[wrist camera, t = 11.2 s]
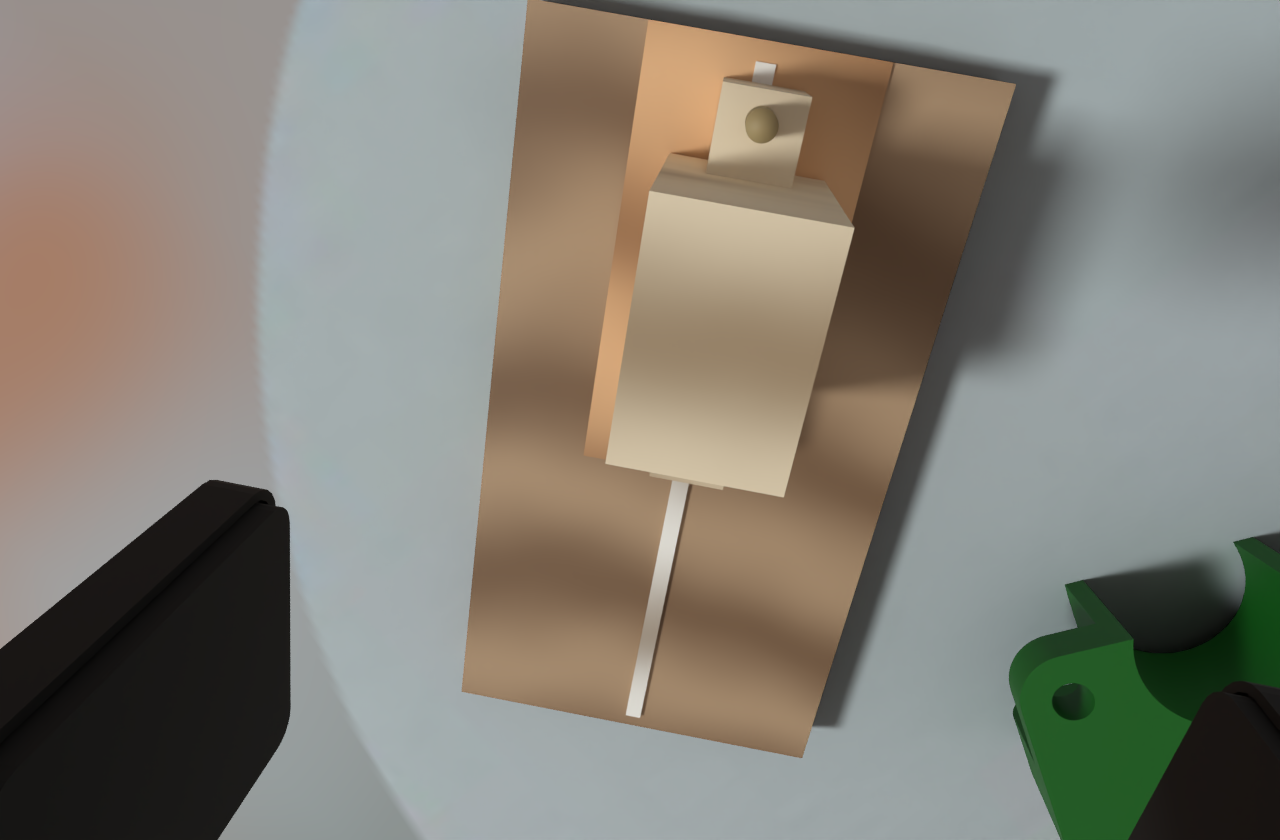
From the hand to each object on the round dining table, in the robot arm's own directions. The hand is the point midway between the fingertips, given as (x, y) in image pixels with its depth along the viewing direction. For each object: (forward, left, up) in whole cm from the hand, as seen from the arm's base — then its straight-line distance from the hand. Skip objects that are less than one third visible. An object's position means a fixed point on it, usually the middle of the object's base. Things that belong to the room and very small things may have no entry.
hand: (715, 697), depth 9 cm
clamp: (-9, -16, -18) cm, 26 cm away
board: (-5, 0, -18) cm, 18 cm away
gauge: (0, 0, -16) cm, 16 cm away
